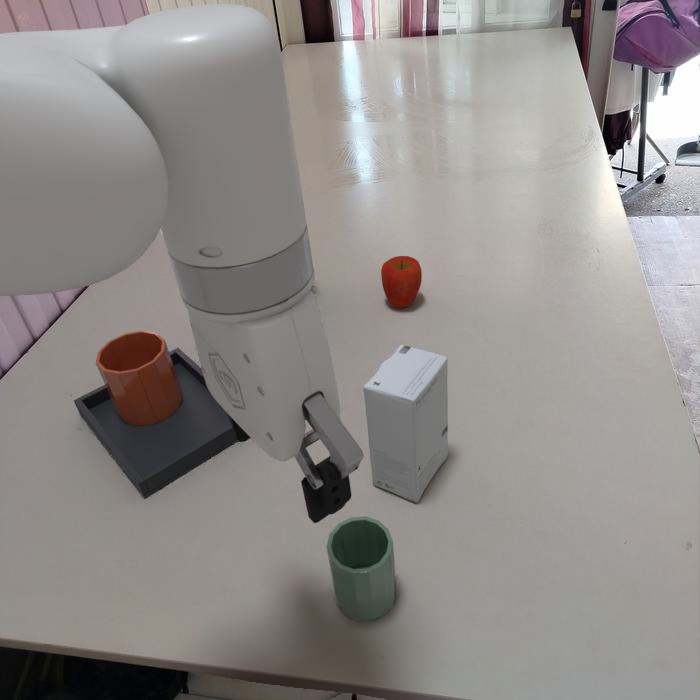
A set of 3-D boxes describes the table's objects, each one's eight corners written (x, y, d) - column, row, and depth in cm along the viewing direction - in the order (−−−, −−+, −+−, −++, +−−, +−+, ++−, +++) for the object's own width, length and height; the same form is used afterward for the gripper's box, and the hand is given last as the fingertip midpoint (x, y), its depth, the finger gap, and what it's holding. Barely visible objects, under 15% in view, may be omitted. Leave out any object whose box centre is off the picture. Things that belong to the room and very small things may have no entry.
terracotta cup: (135, 435, 80) (113, 382, 75) (108, 403, 86) (85, 351, 80) (193, 403, 84) (176, 350, 79) (164, 374, 89) (146, 323, 84)
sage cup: (363, 634, 58) (356, 586, 53) (323, 590, 62) (313, 542, 57) (408, 594, 61) (406, 544, 56) (367, 555, 65) (362, 505, 60)
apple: (419, 315, 97) (419, 273, 92) (379, 313, 98) (377, 271, 93) (424, 292, 101) (423, 251, 97) (386, 291, 103) (384, 250, 98)
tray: (144, 498, 73) (138, 484, 71) (80, 414, 85) (73, 400, 84) (256, 429, 80) (253, 414, 79) (182, 361, 93) (178, 347, 91)
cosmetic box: (417, 505, 69) (414, 405, 60) (369, 485, 72) (359, 386, 63) (449, 453, 74) (451, 355, 65) (404, 436, 77) (399, 339, 68)
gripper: (120, 234, 39) (189, 429, 50) (270, 365, 28) (318, 581, 38) (226, 193, 42) (270, 385, 53) (399, 295, 31) (410, 513, 42)
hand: (290, 467), depth 46 cm, fingers open, 9 cm apart
